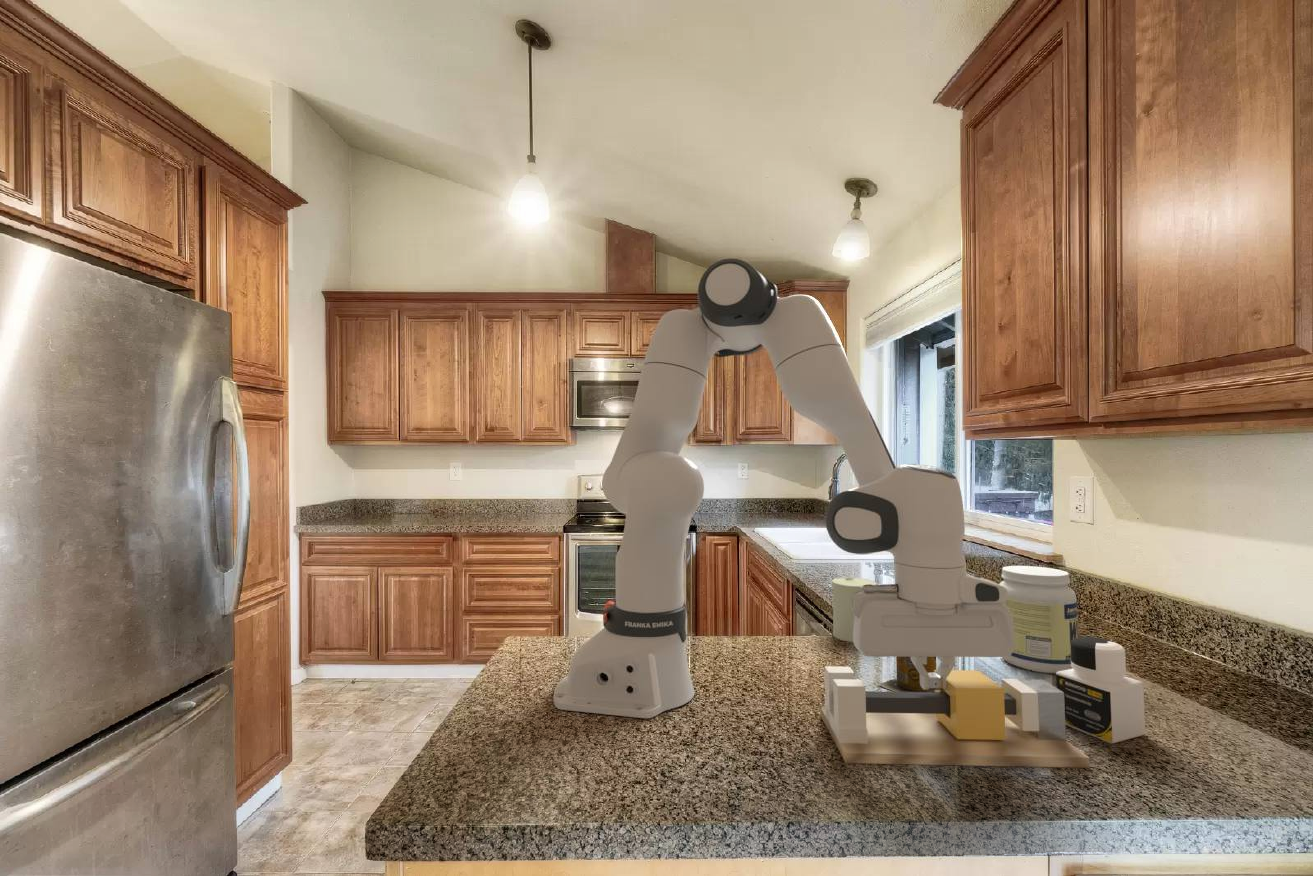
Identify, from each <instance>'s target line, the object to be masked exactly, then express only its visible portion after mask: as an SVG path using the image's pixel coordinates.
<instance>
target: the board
mask: <svg viewBox="0 0 1313 876" xmlns="http://www.w3.org/2000/svg"><path fill="white" fill-rule="evenodd" d="M820 717H821V719H822V721H823V723H824V725H825V726H826V728H828V729H827V731H828V730H829V731H828V732H829V735H830V736H831V738H832V740H833V741H834V744H835V745H836V748H837V749H838V752H839V751H840V752H839V753H840V755H841V757H842V759H843V761H844V762H845V764H879V765H880V764H882V765H885V764H887V765H929V766H930V765H931V766H932V765H933V766H983V767H985V766H986V767H989V766H990V767H1028V768H1029V767H1031V768H1032V767H1033V768H1035V767H1037V768H1039V767H1040V768H1078V769H1079V768H1080V769H1081V768H1082V769H1083V768H1084V769H1085V768H1087V769H1089V768H1090V767H1091V763H1090V756H1088V755H1087V754H1085V753H1084V752H1082V751H1081V750H1080V749H1079V748H1077V747H1076V746H1075V745H1073V744H1072V743H1070V742H1069V741H1067V739H1066V740H1038V739H1037V738H1036V737H1034V736H1033V735H1032V734H1031V733H1029V732H1028V731H1023V730H1021V729H1020V728H1019V727H1018V726H1016V725H1015V724H1014V723H1013V722H1011V721H1010V720H1009V719H1008V718H1006V717H1005V733H1006V740H989V739H957V738H956V737H955V736H954V735H953V734H952V733H951V732H950V731H949V730H948V729H947V728H946V727H945V726H944V725H943V724H942V723H941V722H940V721H939V720H938V719H937V718H936V714H922V713H866V728H867V733H868V744H860V743H840V742H839V741H838V739H837V737H836V735H835V733H834V731H833V729H832V728H831V726H830V724H829V722H828V720H827V718H826V717H825V707H821V708H820Z"/></svg>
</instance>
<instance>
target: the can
mask: <svg viewBox="0 0 1313 876" xmlns="http://www.w3.org/2000/svg"><path fill="white" fill-rule="evenodd" d="M867 584H872V585H878V583H877V582H876V581H875V580H872V579H867V578H861V577H838V578H834V579H832V580H831V585H832V588H831V589H832V610H833V611H832V614H833V616H832V617H833V618H832V619H833V622H832V625H833V627H832V630H833V631H832V636H833V637H834V638H835V639H837V640H840V641H843V642H848V643H853V627H854V618H855V614H854V613H853V609H852V596H853V593H854V592H855V591H856V590H857V589H859V588H862V586H863V585H867ZM860 592H863V591H860Z"/></svg>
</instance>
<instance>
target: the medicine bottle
mask: <svg viewBox="0 0 1313 876" xmlns="http://www.w3.org/2000/svg"><path fill="white" fill-rule="evenodd" d="M1070 645H1071V666H1072V667H1073V669H1068V670H1063V671H1058V672H1057V673H1055V674H1056V675H1055V676H1056V677H1055V679H1056V688H1057V689H1059V690H1061V691H1062V692H1064V703H1065V726H1067V727H1070V728H1072V729H1073V730H1077V731H1079V732H1080V733H1081V732H1082V733H1083V734H1086V735H1088V736H1091V737H1094V738H1096V739H1099V740H1101V741H1103V742H1105V743H1108V744H1110V745H1112V744H1117V743H1120V742H1124V741H1128V740H1131V739H1135V738H1138V737H1141V736H1142V737H1143V736H1144V735H1146V717H1145V713H1146V712H1145V697H1144V696H1145V695H1144V694H1145V693H1144V683H1143V682H1142V681H1141V680H1137V679H1135V678H1132V677H1127V668H1126V667H1127V664H1126V663H1127V662H1126V661H1127V660H1126V649H1125V648H1124V647H1123V645H1120V644H1119V643H1117V642H1115V641H1113V640H1110V639H1105V638H1102V637H1093V636H1081V637H1080V636H1078V638H1075V639H1073V640H1072V641H1071V642H1070Z"/></svg>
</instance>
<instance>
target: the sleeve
mask: <svg viewBox="0 0 1313 876" xmlns="http://www.w3.org/2000/svg"><path fill="white" fill-rule="evenodd" d="M936 671H937V669H936V670H934V673H936ZM935 692H946V693H947V694H948V695H949V696H950V710H951V714H936V718H937V719H938V720H939V721H940V722H941V723H942V724H943V725H944V726H945V727H946V728H947V729H948V730H949V731H950V732H951V733H952V734H953V735H954V736H955V737H956V738H957V739H989V740H1006V733H1005V705H1004V688H1002V685H1000V684H998V683H997V682H995V681H994V680H993V679H991V678H990V677H988V676H987V675H986V674H984V673H983V672H982V671H980V670H977V669H976V670H975V669H973V670H971V669H970V670H969V669H968V670H965V669H964V670H963V669H962V670H960V669H959V670H957V669H952V671H951V672H950V674H949V676H948V677H947V689H946V690H935Z"/></svg>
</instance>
